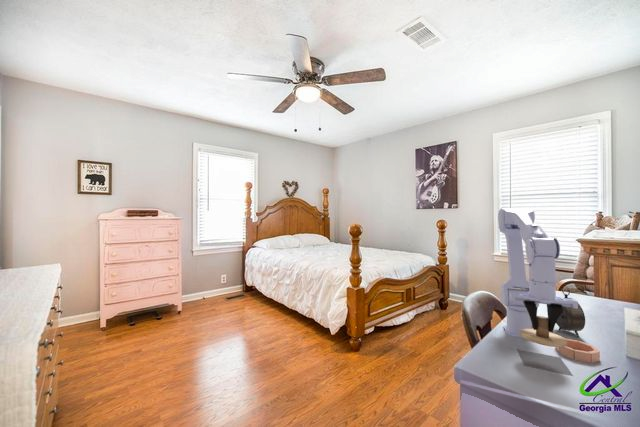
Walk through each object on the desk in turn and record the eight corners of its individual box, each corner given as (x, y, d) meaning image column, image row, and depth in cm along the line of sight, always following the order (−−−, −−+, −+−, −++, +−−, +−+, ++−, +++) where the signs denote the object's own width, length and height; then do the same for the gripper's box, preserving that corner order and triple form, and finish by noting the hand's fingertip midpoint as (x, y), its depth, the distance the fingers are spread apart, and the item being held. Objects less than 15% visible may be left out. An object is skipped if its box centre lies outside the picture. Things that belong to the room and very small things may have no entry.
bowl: (552, 346, 85) (552, 336, 85) (590, 352, 80) (590, 342, 80) (562, 359, 77) (562, 348, 77) (604, 367, 73) (604, 355, 73)
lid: (517, 329, 81) (516, 309, 81) (560, 335, 76) (559, 315, 77) (524, 341, 72) (523, 320, 72) (573, 350, 68) (572, 327, 68)
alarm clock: (587, 339, 89) (586, 290, 89) (568, 338, 90) (567, 289, 90) (564, 326, 100) (563, 282, 100) (547, 325, 101) (547, 282, 101)
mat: (517, 351, 81) (517, 349, 81) (560, 359, 76) (560, 357, 76) (524, 367, 72) (524, 365, 72) (573, 378, 68) (573, 375, 68)
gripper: (512, 280, 74) (513, 329, 74) (582, 287, 68) (583, 341, 68) (508, 275, 81) (508, 321, 81) (572, 281, 74) (572, 330, 74)
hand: (542, 329), depth 75 cm, fingers closed on lid, 3 cm apart
